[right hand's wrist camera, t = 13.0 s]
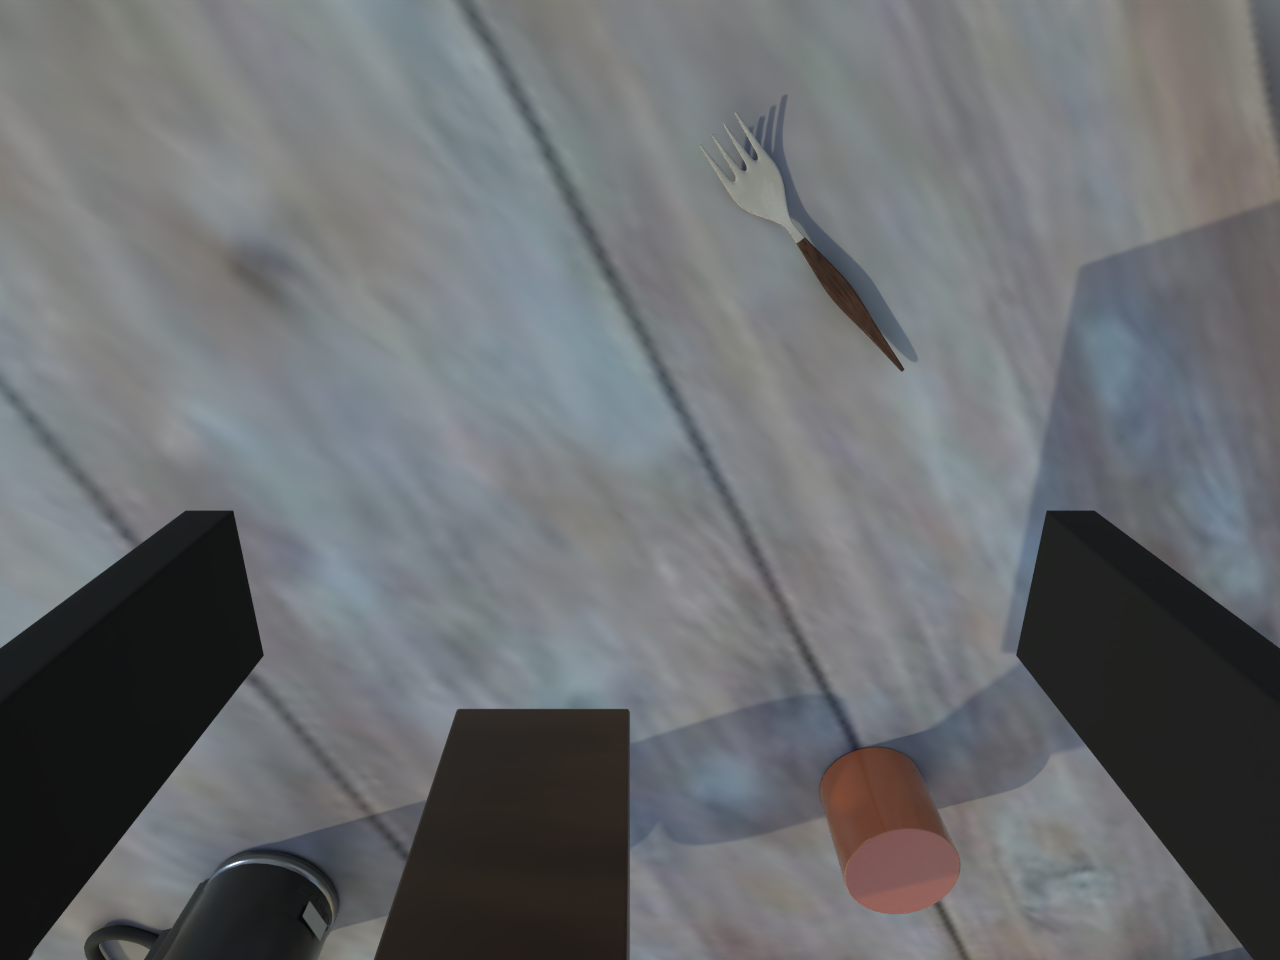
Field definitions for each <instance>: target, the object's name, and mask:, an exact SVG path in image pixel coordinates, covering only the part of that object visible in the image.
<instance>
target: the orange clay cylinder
mask: <svg viewBox="0 0 1280 960" xmlns="http://www.w3.org/2000/svg"><path fill="white" fill-rule="evenodd" d="M820 798H821V802H822V806H823V809H824V813H825V816H826V820H827V823H828V827H829V830H830V834H831V837H832V840H833V844H834V847H835V851H836V854H837V858H838V861H839V865H840V868H841V872H842V875H843V879H844V882H845V885H846V888H847V890H848V892H849V893H850V895H851V896H852V897H853V898H854V899H855V900H856V901H857V902H858V903H859V904H861V905H862V906H864V907H866V908H868V909H870V910H873V911H876V912H881V913H887V914H904V913H910V912H915V911H918V910H921V909H924V908H927V907H929V906H931V905H933V904H935V903H936V902H938V901H939V900H941V899H942V898H943V897H945V896H946V895H947V894H948V893H949V892H950V890H951V889H952V888H953V886H954V885H955V883H956V881H957V879H958V876H959V872H960V858H959V855H958V853H957V850H956V848H955V846H954V844H953V842H952V840H951V838H950V835H949V833H948V831H947V829H946V827H945V825H944V823H943V820H942V818H941V816H940V814H939V812H938V810H937V808H936V805H935V803H934V801H933V799H932V797H931V795H930V793H929V790H928V788H927V786H926V784H925V782H924V780H923V778H922V775H921V773H920V771H919V769H918V767H917V766H916V765H915V763H914V762H913V761H912V760H911V759H910V758H908V757H907V756H906V755H904V754H902V753H900V752H898V751H895V750H892V749H888V748H881V747H871V748H864V749H859V750H856V751H853V752H850V753H848V754H846V755H844V756H842V757H841V758H839V759H838V760H837V761H835V762H834V763H833V764H832V765H831V766H830V767H829V768H828V770H827V771H826V773H825V774H824V776H823V778H822V781H821V785H820Z"/></svg>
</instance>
